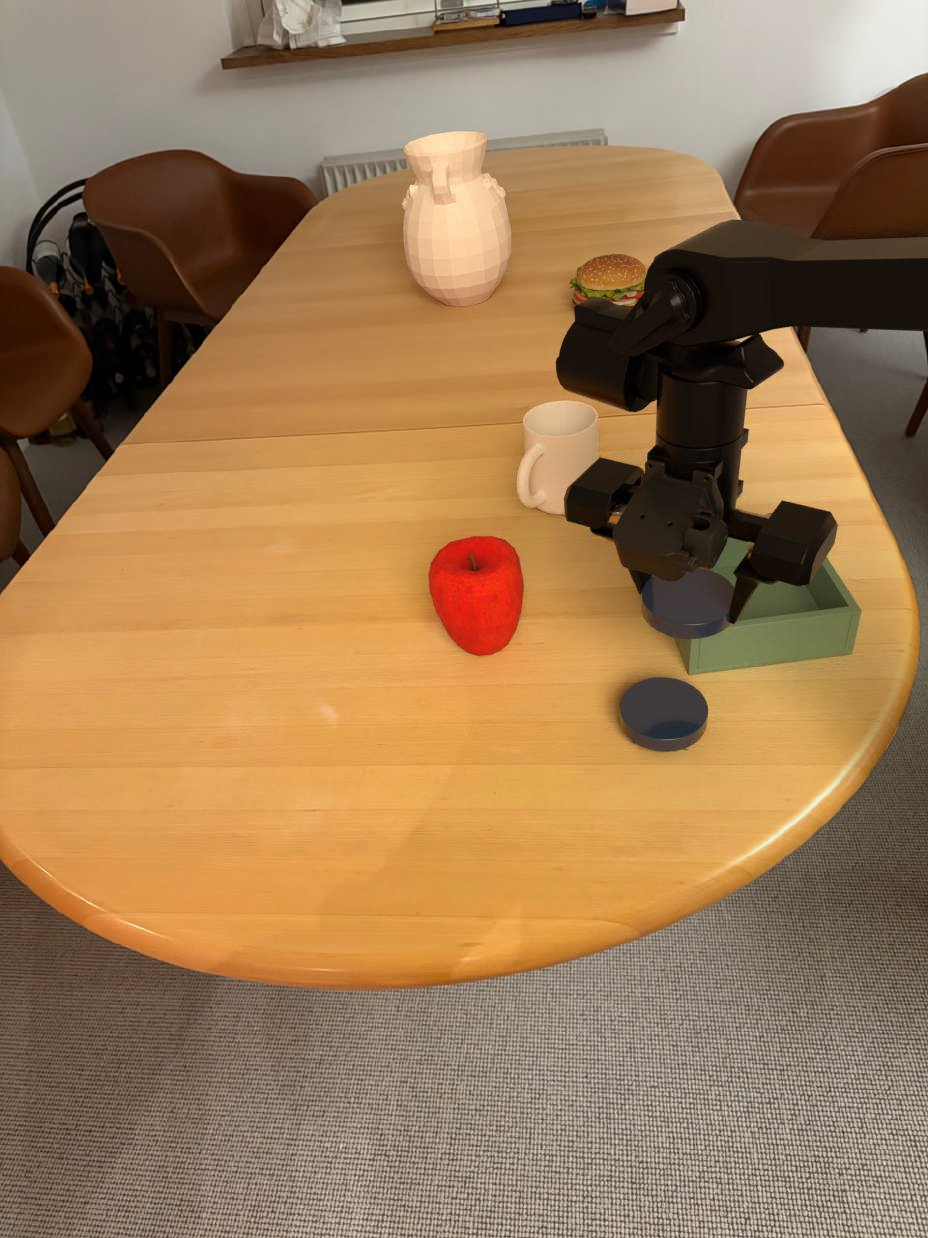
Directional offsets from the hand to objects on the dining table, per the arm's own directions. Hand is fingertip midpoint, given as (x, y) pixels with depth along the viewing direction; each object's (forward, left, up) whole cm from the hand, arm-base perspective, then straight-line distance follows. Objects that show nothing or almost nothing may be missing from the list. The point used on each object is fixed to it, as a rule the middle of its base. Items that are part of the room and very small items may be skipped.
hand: (687, 606), depth 69 cm
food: (-12, -90, -11) cm, 91 cm away
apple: (+16, -12, -11) cm, 23 cm away
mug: (+6, -34, -11) cm, 36 cm away
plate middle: (+2, +2, -11) cm, 12 cm away
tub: (-9, -11, -11) cm, 18 cm away
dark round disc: (0, 0, -1) cm, 1 cm away
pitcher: (+12, -104, -11) cm, 105 cm away
